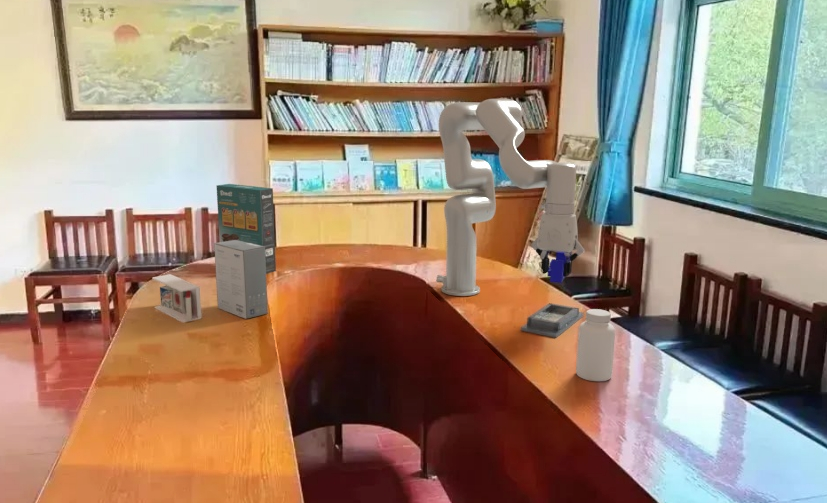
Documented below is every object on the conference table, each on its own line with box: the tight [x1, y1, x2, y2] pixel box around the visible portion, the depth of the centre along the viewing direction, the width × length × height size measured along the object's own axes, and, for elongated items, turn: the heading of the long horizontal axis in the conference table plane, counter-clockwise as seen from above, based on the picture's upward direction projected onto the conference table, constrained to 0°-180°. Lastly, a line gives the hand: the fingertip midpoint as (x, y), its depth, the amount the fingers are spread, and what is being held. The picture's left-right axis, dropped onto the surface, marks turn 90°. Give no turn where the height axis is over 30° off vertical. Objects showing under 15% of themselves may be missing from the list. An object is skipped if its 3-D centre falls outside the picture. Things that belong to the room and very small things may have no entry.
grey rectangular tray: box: [520, 302, 585, 339], centre depth 188 cm, size 10×22×3 cm, turn 148°
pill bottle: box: [575, 308, 616, 382], centre depth 151 cm, size 8×8×15 cm
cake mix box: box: [216, 183, 277, 275], centre depth 243 cm, size 22×6×30 cm, turn 58°
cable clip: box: [547, 252, 566, 284], centre depth 185 cm, size 12×4×6 cm, turn 161°
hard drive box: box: [213, 240, 269, 320], centre depth 194 cm, size 16×8×20 cm, turn 47°
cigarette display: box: [152, 273, 202, 323], centre depth 193 cm, size 20×6×9 cm, turn 44°
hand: (556, 273), depth 185 cm, fingers closed on cable clip, 5 cm apart
